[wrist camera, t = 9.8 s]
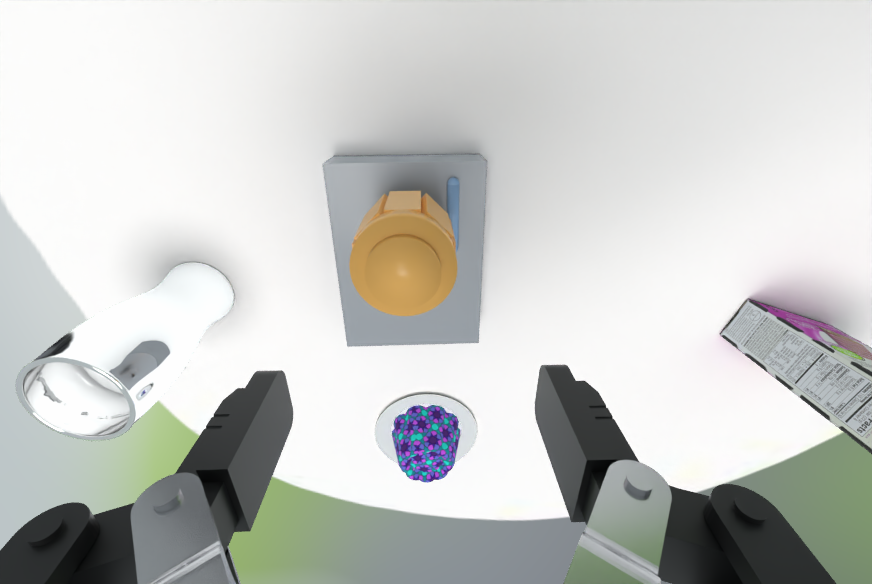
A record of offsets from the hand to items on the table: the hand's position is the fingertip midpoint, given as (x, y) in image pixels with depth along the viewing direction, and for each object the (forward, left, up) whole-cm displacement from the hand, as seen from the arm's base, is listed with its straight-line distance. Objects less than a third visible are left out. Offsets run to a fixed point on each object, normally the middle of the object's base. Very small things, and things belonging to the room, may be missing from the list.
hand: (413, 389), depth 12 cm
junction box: (+4, -1, -24) cm, 24 cm away
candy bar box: (+14, +37, -24) cm, 47 cm away
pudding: (+27, 0, -25) cm, 37 cm away
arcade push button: (0, -1, -16) cm, 16 cm away
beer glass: (+8, -21, -24) cm, 33 cm away
